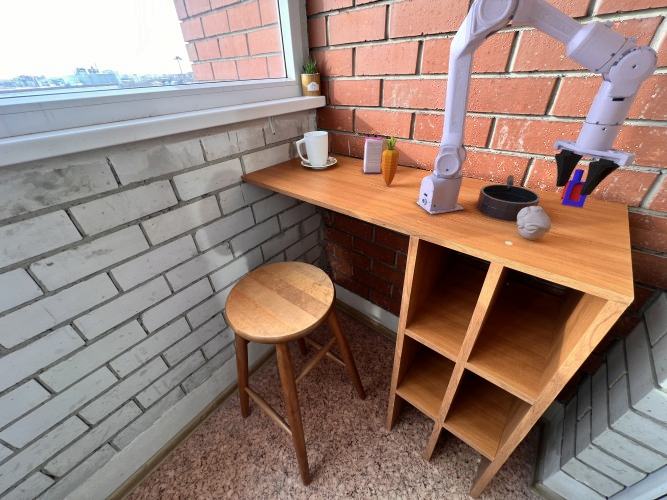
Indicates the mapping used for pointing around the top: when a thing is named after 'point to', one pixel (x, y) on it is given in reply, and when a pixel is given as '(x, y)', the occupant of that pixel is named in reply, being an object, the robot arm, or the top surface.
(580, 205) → the small bottle
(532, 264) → the top surface
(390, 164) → the carrot
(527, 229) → the frog figurine
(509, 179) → the pot handle
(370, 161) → the supplement box
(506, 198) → the pot
